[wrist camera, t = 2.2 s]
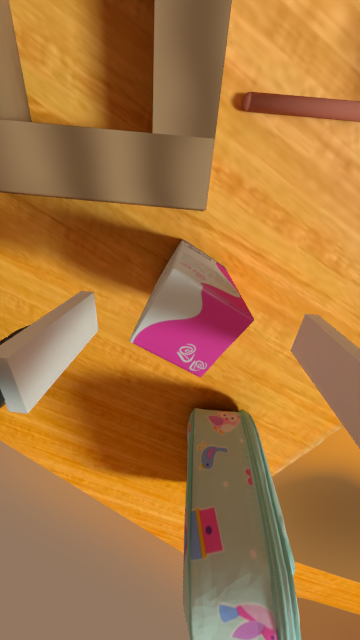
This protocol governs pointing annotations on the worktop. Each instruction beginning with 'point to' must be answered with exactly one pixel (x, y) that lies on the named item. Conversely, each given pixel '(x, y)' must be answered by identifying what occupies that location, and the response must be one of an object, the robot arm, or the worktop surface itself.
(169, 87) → the brown wooden square frame
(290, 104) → the reddish-brown thin rod
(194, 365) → the supplement box
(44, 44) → the worktop surface
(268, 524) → the lunch box
